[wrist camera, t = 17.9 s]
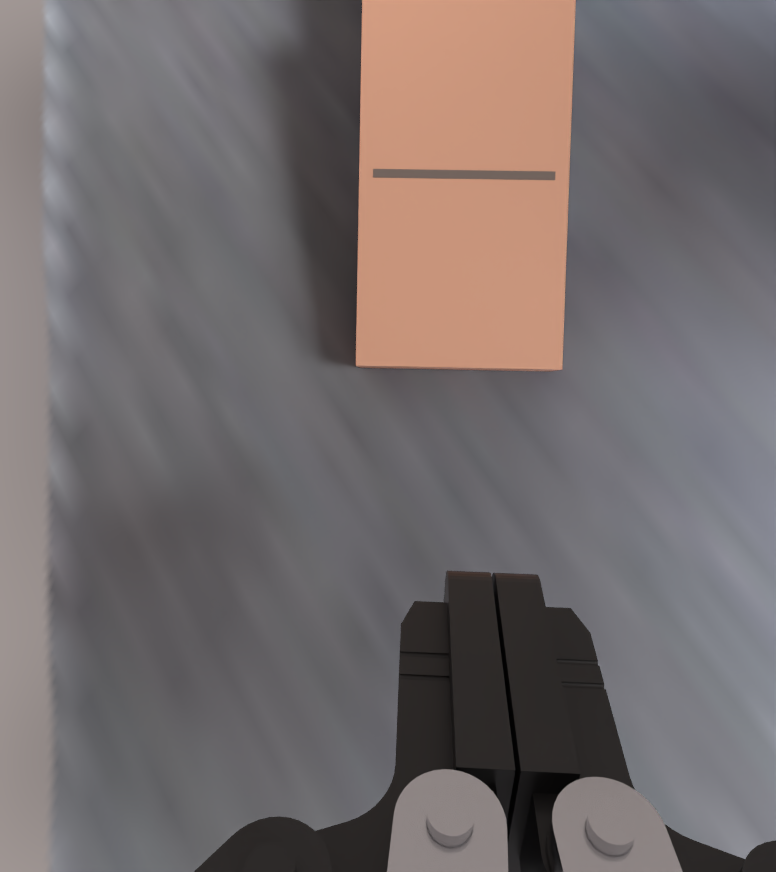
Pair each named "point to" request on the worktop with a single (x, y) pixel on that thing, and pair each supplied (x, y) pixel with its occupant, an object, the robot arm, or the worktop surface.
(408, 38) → the rust tile
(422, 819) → the robot arm
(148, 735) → the worktop surface
